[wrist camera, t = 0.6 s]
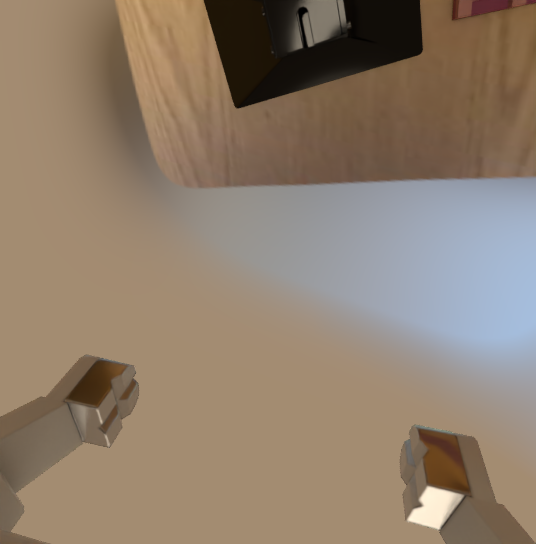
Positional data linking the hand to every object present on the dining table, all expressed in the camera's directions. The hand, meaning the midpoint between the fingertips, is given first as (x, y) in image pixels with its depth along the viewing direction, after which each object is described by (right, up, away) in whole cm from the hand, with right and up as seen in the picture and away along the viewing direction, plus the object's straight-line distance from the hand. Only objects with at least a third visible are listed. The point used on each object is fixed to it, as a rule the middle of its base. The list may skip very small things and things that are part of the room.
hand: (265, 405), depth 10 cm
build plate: (+3, +20, +12) cm, 23 cm away
